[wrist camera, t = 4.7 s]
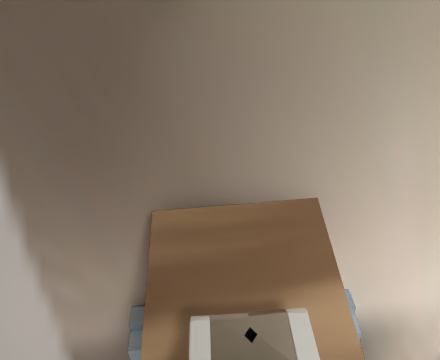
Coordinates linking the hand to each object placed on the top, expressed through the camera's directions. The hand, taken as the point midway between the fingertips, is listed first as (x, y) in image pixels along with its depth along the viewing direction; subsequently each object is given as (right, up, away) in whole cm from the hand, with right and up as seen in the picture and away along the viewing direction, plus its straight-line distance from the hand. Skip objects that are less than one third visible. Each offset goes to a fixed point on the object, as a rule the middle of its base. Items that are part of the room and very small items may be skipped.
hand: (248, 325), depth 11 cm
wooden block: (0, +2, +6) cm, 6 cm away
